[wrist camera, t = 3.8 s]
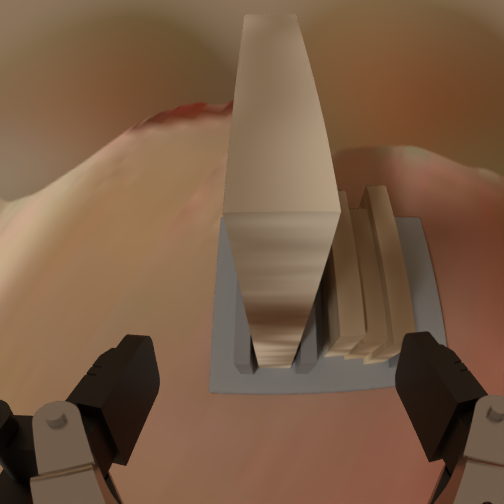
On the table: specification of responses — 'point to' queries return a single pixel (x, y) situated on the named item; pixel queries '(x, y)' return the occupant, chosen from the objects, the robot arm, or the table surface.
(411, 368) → the robot arm
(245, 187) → the birch panel
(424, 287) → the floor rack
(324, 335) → the pine offcuts
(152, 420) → the table surface
